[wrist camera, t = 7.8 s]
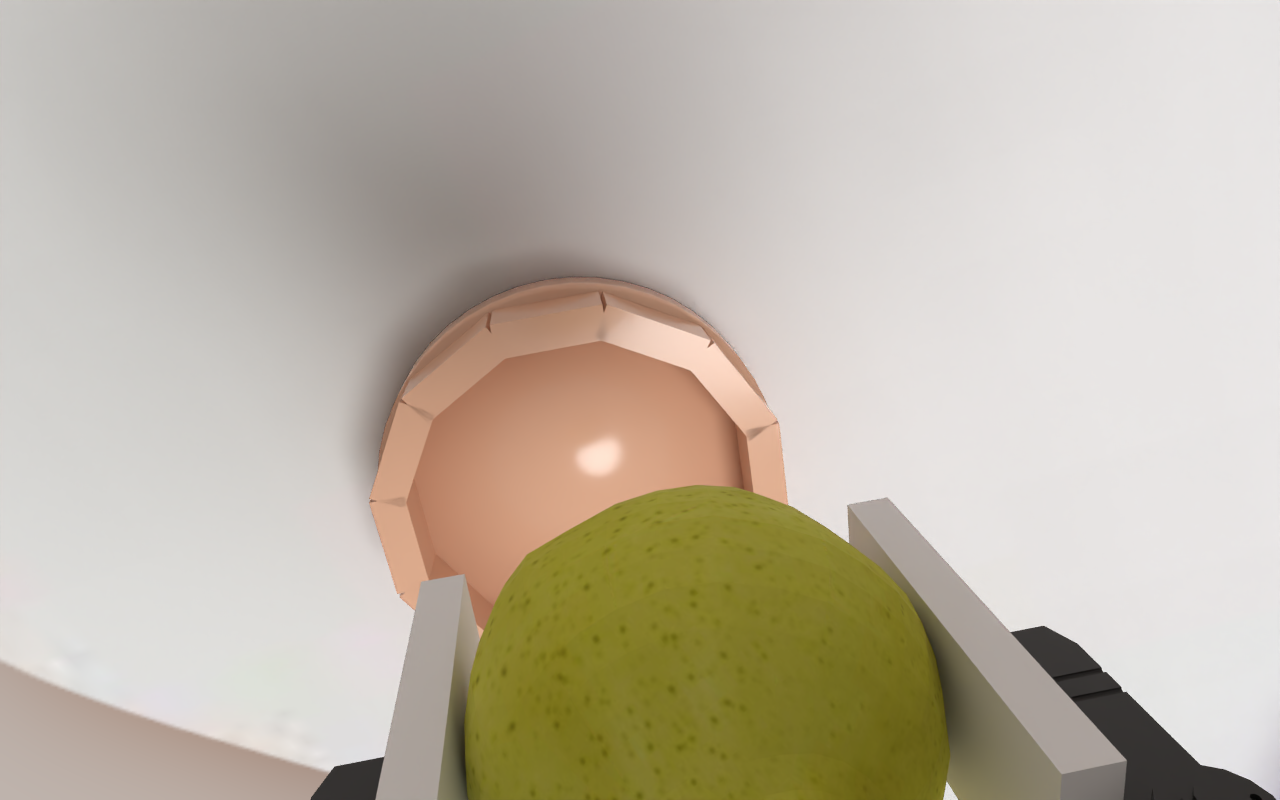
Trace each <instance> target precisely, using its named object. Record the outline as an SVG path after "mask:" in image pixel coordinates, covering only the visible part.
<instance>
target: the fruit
mask: <svg viewBox="0 0 1280 800" xmlns="http://www.w3.org/2000/svg"><path fill="white" fill-rule="evenodd" d="M464 732H465V765H466V782H467V796H468V799H469V800H943V797H944V792H945V786H946V780H947V774H948V768H949V762H950V756H951V755H950V747H949V740H948V732H947V724H946V716H945V708H944V700H943V692H942V687H941V682H940V677H939V672H938V667H937V662H936V657H935V654H934V652H933V649H932V647H931V644H930V642H929V639H928V637H927V634H926V632H925V629H924V627H923V624H922V622H921V620H920V618H919V617H918V615H917V613H916V611H915V609H914V607H913V605H912V604H911V602H910V600H909V598H908V596H907V594H906V593H905V592H904V591H903V590H902V589H901V588H900V587H899V586H898V585H897V584H896V583H895V582H894V580H893V579H892V578H891V577H890V576H889V575H888V574H887V573H886V572H885V571H884V570H883V569H882V568H881V567H880V566H879V565H877V564H876V563H875V562H873V561H872V560H871V559H869V558H868V557H867V556H865V555H864V554H863V553H861V552H860V551H859V550H857V549H856V548H855V547H853V546H852V545H850V544H849V543H847V542H846V541H845V540H843V539H842V538H840V537H839V536H838V535H836V534H835V533H833V532H832V531H830V530H829V529H828V528H826V527H825V526H823V525H821V524H820V523H818V522H816V521H815V520H813V519H811V518H810V517H808V516H807V515H805V514H803V513H802V512H800V511H798V510H797V509H795V508H793V507H791V506H789V505H786V504H783V503H781V502H778V501H775V500H773V499H770V498H767V497H765V496H762V495H759V494H756V493H753V492H750V491H747V490H743V489H740V488H736V487H726V486H708V485H692V486H686V487H679V488H672V489H665V490H658V491H654V492H651V493H648V494H645V495H642V496H638V497H635V498H632V499H629V500H626V501H623V502H620V503H617V504H614V505H613V506H611V507H609V508H607V509H605V510H604V511H602V512H600V513H598V514H596V515H595V516H593V517H591V518H589V519H587V520H586V521H584V522H582V523H580V524H578V525H577V526H575V527H573V528H571V529H569V530H568V531H566V532H564V533H562V534H561V535H559V536H557V537H556V538H554V539H552V540H551V541H549V542H547V543H545V544H544V545H542V546H540V547H539V548H537V549H535V550H534V551H532V552H530V553H528V554H527V555H526V556H525V558H524V559H523V560H522V562H521V563H520V564H519V566H518V567H517V568H516V570H515V571H514V572H513V574H512V575H511V576H510V578H509V579H508V580H507V582H506V583H505V585H504V586H503V588H502V590H501V592H500V594H499V596H498V598H497V600H496V602H495V604H494V607H493V609H492V612H491V614H490V616H489V619H488V621H487V624H486V626H485V629H484V631H483V633H482V636H481V638H480V641H479V644H478V648H477V652H476V655H475V659H474V663H473V666H472V670H471V674H470V681H469V689H468V696H467V704H466V711H465V719H464Z"/></svg>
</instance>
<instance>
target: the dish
mask: <svg viewBox="0 0 1280 800" xmlns="http://www.w3.org/2000/svg"><path fill="white" fill-rule="evenodd" d="M692 485H708V486H726V487H736V488H740V489H743V490H747V491H750V492H753V493H756V494H759V495H762V496H765V497H767V498H770V499H773V500H775V501H778V502H781V503H783V504H786V505H788V500H787V491H786V482H785V473H784V464H783V455H782V446H781V437H780V427H779V423H778V421H777V418H776V417H775V416H774V414H773V413H772V411H771V410H770V409H769V407H768V406H767V404H766V401H765V399H764V397H763V395H762V393H761V391H760V389H759V387H758V385H757V383H756V381H755V379H754V378H753V377H752V375H751V374H750V372H749V371H748V369H747V368H746V367H745V365H744V364H743V362H742V361H741V360H740V358H739V357H738V356H737V354H736V353H735V352H734V350H733V349H732V348H731V346H730V345H729V344H728V343H727V342H726V341H725V340H724V338H723V337H722V336H721V335H720V334H719V333H718V332H717V331H716V330H715V329H714V328H713V327H712V326H711V325H710V324H708V323H707V322H706V321H705V320H704V319H702V318H701V317H700V316H699V315H697V314H696V313H695V312H694V311H692V310H690V309H689V308H687V307H685V306H684V305H682V304H680V303H679V302H677V301H675V300H674V299H672V298H670V297H668V296H665V295H663V294H661V293H658V292H656V291H654V290H651V289H649V288H646V287H642V286H639V285H635V284H632V283H628V282H624V281H619V280H612V279H605V278H598V277H566V278H557V279H549V280H542V281H538V282H534V283H530V284H526V285H522V286H518V287H515V288H513V289H510V290H508V291H505V292H503V293H500V294H498V295H495V296H493V297H491V298H489V299H487V300H485V301H484V302H482V303H480V304H478V305H476V306H475V307H473V308H471V309H469V310H468V311H467V312H465V313H464V314H463V315H461V316H460V317H459V318H457V319H456V320H455V321H453V322H452V323H451V324H449V325H448V326H447V327H446V328H445V329H444V330H443V331H442V332H441V333H440V334H439V335H438V336H437V337H436V338H435V339H434V340H433V341H432V342H431V343H430V344H429V345H428V347H427V348H426V349H425V351H424V352H423V353H422V354H421V356H420V357H419V358H418V360H417V361H416V362H415V364H414V366H413V367H412V369H411V371H410V373H409V374H408V376H407V378H406V380H405V381H404V383H403V385H402V387H401V389H400V392H399V394H398V396H397V398H396V400H395V402H394V405H393V407H392V410H391V413H390V415H389V418H388V420H387V423H386V426H385V429H384V433H383V438H382V442H381V447H380V451H379V464H378V472H377V475H376V479H375V482H374V485H373V488H372V492H371V495H370V498H369V499H371V500H370V502H369V504H370V507H371V510H372V513H373V517H374V520H375V523H376V526H377V530H378V533H379V536H380V539H381V543H382V546H383V549H384V552H385V556H386V559H387V562H388V565H389V568H390V572H391V575H392V578H393V581H394V585H395V588H396V591H397V594H400V593H401V594H400V598H401V599H402V600H403V601H404V602H406V603H407V604H408V605H409V606H410V607H411V608H412V609H414V610H415V609H416V604H417V599H418V594H419V590H420V585H421V582H422V581H428V580H433V579H439V578H445V577H450V576H456V575H461V574H465V578H466V582H467V586H468V591H469V595H470V599H471V603H472V608H473V612H474V616H475V621H476V625H477V629H478V633H479V638H481V636H482V633H483V631H484V629H485V626H486V624H487V621H488V619H489V616H490V614H491V612H492V609H493V607H494V604H495V602H496V600H497V598H498V596H499V594H500V592H501V590H502V588H503V586H504V585H505V583H506V582H507V580H508V579H509V578H510V576H511V575H512V574H513V572H514V571H515V570H516V568H517V567H518V566H519V564H520V563H521V562H522V560H523V559H524V558H525V556H526V555H527V554H528V553H530V552H532V551H534V550H535V549H537V548H539V547H540V546H542V545H544V544H545V543H547V542H549V541H551V540H552V539H554V538H556V537H557V536H559V535H561V534H562V533H564V532H566V531H568V530H569V529H571V528H573V527H575V526H577V525H578V524H580V523H582V522H584V521H586V520H587V519H589V518H591V517H593V516H595V515H596V514H598V513H600V512H602V511H604V510H605V509H607V508H609V507H611V506H613V505H614V504H617V503H620V502H623V501H626V500H629V499H632V498H635V497H638V496H642V495H645V494H648V493H651V492H654V491H658V490H665V489H672V488H679V487H686V486H692Z"/></svg>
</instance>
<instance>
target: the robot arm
mask: <svg viewBox="0 0 1280 800" xmlns="http://www.w3.org/2000/svg"><path fill="white" fill-rule="evenodd" d="M848 526H849V544H850V545H852V546H853V547H855V548H856V549H857V550H859V551H860V552H861V553H863V554H864V555H865V556H867V557H868V558H869V559H871V560H872V561H873V562H875V563H876V564H877V565H879V566H880V567H881V568H882V569H883V570H884V571H885V572H886V573H887V574H888V575H889V576H890V577H891V578H892V579H893V580H894V582H895V583H896V584H897V585H898V586H899V587H900V588H901V589H902V590H903V591H904V592H905V593H906V594H907V596H908V598H909V600H910V602H911V604H912V605H913V607H914V609H915V611H916V613H917V615H918V617H919V618H920V620H921V622H922V624H923V627H924V629H925V632H926V634H927V637H928V639H929V642H930V644H931V647H932V649H933V652H934V654H935V657H936V662H937V667H938V672H939V677H940V682H941V687H942V692H943V700H944V708H945V716H946V724H947V732H948V740H949V747H950V755H951V756H950V762H949V768H948V774H947V782H948V784H949V785H950V787H951V788H952V790H953V792H954V793H955V795H956V797H957V798H958V800H1276V799H1275V798H1274V797H1273V796H1272V795H1271V794H1270V793H1268V792H1267V791H1265V790H1264V789H1262V788H1261V787H1259V786H1258V785H1256V784H1255V783H1254V782H1252V781H1251V780H1249V779H1246V778H1244V777H1241V776H1239V775H1236V774H1234V773H1232V772H1229V771H1227V770H1224V769H1219V768H1213V767H1208V766H1202V765H1200V764H1199V763H1198V762H1197V761H1196V760H1195V759H1194V758H1193V757H1192V756H1191V755H1190V754H1189V753H1188V752H1187V751H1186V750H1185V749H1184V748H1183V747H1182V746H1181V745H1180V744H1179V743H1178V742H1177V741H1176V740H1174V739H1173V738H1172V737H1171V736H1170V735H1169V734H1168V733H1167V732H1166V731H1165V730H1164V729H1163V728H1162V727H1161V726H1160V725H1159V724H1158V723H1157V722H1156V721H1155V720H1154V719H1153V718H1152V717H1151V716H1150V715H1149V714H1148V713H1147V712H1146V711H1145V710H1144V709H1143V708H1142V707H1141V706H1140V705H1139V704H1138V703H1137V702H1136V701H1135V700H1134V699H1133V698H1132V697H1131V696H1130V695H1129V694H1128V693H1127V692H1123V691H1122V689H1121V686H1120V685H1119V684H1118V683H1117V682H1116V681H1115V680H1114V679H1113V678H1112V677H1111V676H1110V675H1109V674H1108V673H1107V672H1104V673H1103V671H1102V668H1101V667H1100V666H1099V665H1098V664H1097V663H1096V662H1095V661H1094V660H1093V659H1092V658H1091V657H1090V656H1089V655H1088V654H1087V653H1086V652H1085V651H1084V650H1083V649H1082V648H1081V647H1080V646H1079V645H1078V644H1077V643H1075V642H1073V641H1071V640H1069V639H1068V638H1066V637H1064V636H1062V635H1060V634H1058V633H1056V632H1054V631H1053V630H1051V629H1049V628H1047V627H1045V626H1040V627H1035V628H1030V629H1025V630H1020V631H1015V632H1009V630H1008V629H1007V628H1006V627H1005V626H1004V625H1003V624H1002V623H1001V622H1000V621H999V619H998V618H997V617H996V616H995V615H994V614H993V613H992V612H991V611H990V610H989V608H988V607H987V606H986V605H985V604H984V603H983V602H982V601H981V600H980V599H979V597H978V596H977V595H976V594H975V593H974V592H973V591H972V590H971V589H970V588H969V586H968V585H967V584H966V583H965V582H964V581H963V580H962V579H961V578H960V577H959V575H958V574H957V573H956V572H955V571H954V570H953V569H952V568H951V567H950V566H949V564H948V563H947V562H946V561H945V560H944V559H943V558H942V557H941V556H940V555H939V553H938V552H937V551H936V550H935V549H934V548H933V547H932V546H931V545H930V544H929V542H928V541H927V540H926V539H925V538H924V537H923V536H922V535H921V534H920V533H919V531H918V530H917V529H916V528H915V527H914V526H913V525H912V524H911V523H910V522H909V520H908V519H907V518H906V517H905V516H904V515H903V514H902V513H901V512H900V511H899V509H898V508H897V507H896V506H895V505H894V504H893V503H892V502H891V501H890V500H889V499H888V498H883V499H877V500H871V501H866V502H860V503H855V504H849V505H848ZM479 641H480V638H479V633H478V629H477V625H476V621H475V616H474V612H473V608H472V603H471V599H470V595H469V591H468V586H467V582H466V578H465V574H461V575H456V576H450V577H445V578H439V579H433V580H428V581H422V582H421V585H420V590H419V594H418V599H417V604H416V609H415V614H414V618H413V623H412V628H411V633H410V637H409V642H408V647H407V652H406V656H405V661H404V666H403V671H402V675H401V680H400V685H399V690H398V694H397V699H396V704H395V709H394V713H393V718H392V723H391V728H390V733H389V737H388V742H387V747H386V752H385V756H384V757H381V758H376V759H371V760H366V761H361V762H356V763H351V764H346V765H341V766H335V767H334V768H333V769H332V771H331V772H330V773H329V775H328V776H327V777H326V779H325V780H324V781H323V783H322V784H321V785H320V787H319V788H318V789H317V791H316V792H315V793H314V795H313V796H312V797H311V800H469V799H468V796H467V782H466V765H465V732H464V719H465V711H466V704H467V696H468V689H469V681H470V674H471V670H472V666H473V663H474V659H475V655H476V652H477V648H478V644H479Z"/></svg>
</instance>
